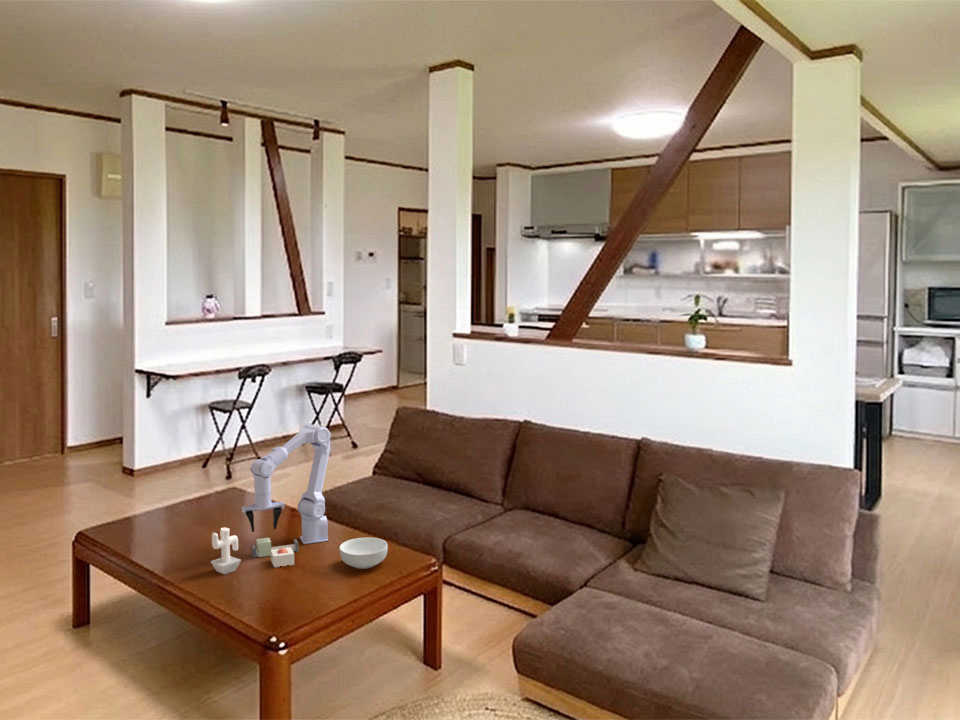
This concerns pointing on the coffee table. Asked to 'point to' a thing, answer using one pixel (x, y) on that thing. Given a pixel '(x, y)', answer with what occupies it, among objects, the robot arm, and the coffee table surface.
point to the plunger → (282, 551)
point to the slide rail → (293, 546)
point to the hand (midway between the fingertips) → (263, 529)
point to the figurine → (225, 551)
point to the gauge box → (282, 557)
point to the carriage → (263, 547)
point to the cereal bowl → (363, 552)
